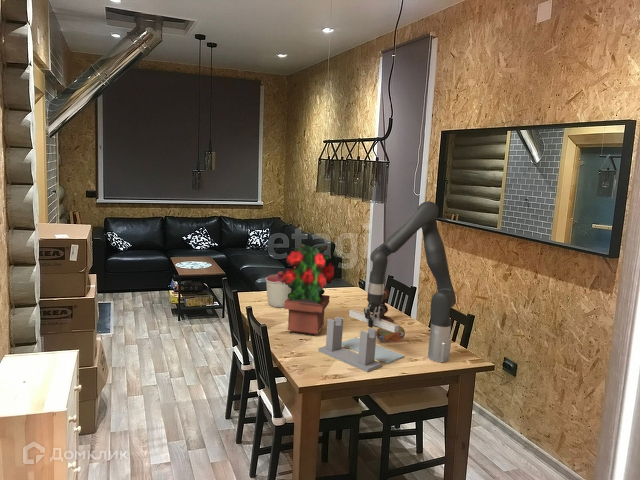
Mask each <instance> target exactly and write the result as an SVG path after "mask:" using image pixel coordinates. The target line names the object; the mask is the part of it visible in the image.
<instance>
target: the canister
mask: <svg viewBox="0 0 640 480" xmlns="http://www.w3.org/2000/svg"><path fill="white" fill-rule="evenodd" d="M265 281H266V282H265V283H266V297H267V303H268V305H269V306H271V307H274V308H284V305H285V301H286V300H287V299H288V294H289V293H291V288H289V287H288V285H286V284H285V282H284V283H283V271H278V272H277V274H270V275H268V276H267V277H265ZM282 283H283V285H282Z"/></svg>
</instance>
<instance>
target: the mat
mask: <svg viewBox="0 0 640 480" xmlns="http://www.w3.org/2000/svg"><path fill="white" fill-rule="evenodd" d="M359 344H360V337H356V336H355V337H353V338H350V339H347V340H344V341H343V340H342V346H341V347H343V348H346V349H348V350H351V351H353V352H356V353H359ZM403 358H405V354H402V353H399V352H396V351H393V350H391V349H388V348H385V347H383V346H380V345H378V344H376V347H375V359H374V360H375V361H378V362H379V361H380V363H381V362H382V363H384V364H386V365H388V364H391V363H394V362H395V361H398V359H399V360H401V359H403Z"/></svg>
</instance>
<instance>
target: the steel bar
mask: <svg viewBox="0 0 640 480" xmlns="http://www.w3.org/2000/svg"><path fill="white" fill-rule="evenodd" d="M348 313H349V314H348V317H350V318H353V319H356V320H358V321H361V322H365V323H367V324H368V319H366V318H365V314H364V311H359V310H357V309H354V308H353V309H350V310H349V311H348ZM374 325H375V326H374ZM373 326H374V327H378V328H383V329H386V330H388V331H391V332H394V333H395V332H398V329H399V326H400V325H399V324H396V323H395V322H394V323H391V322H388V321H385V320H383V319H380V318H377V317H374V318H373Z"/></svg>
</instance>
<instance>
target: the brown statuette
mask: <svg viewBox="0 0 640 480" xmlns="http://www.w3.org/2000/svg"><path fill="white" fill-rule="evenodd" d="M389 296H390V291H389V289H388V288H386V287H384V295H383V302H382V303H381V304H383V305H385V307H384V310H383V313H382V316H381V317H379V318H380V319H383V320H385V321H388V322H391V323H394V324H395V320H394V319H393V318H392V317H390V316H388V315H385V314H387V313H388V312H389V309H388V306H387V304H386V302H387V299H388V297H389ZM380 312H381V311H380Z"/></svg>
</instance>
